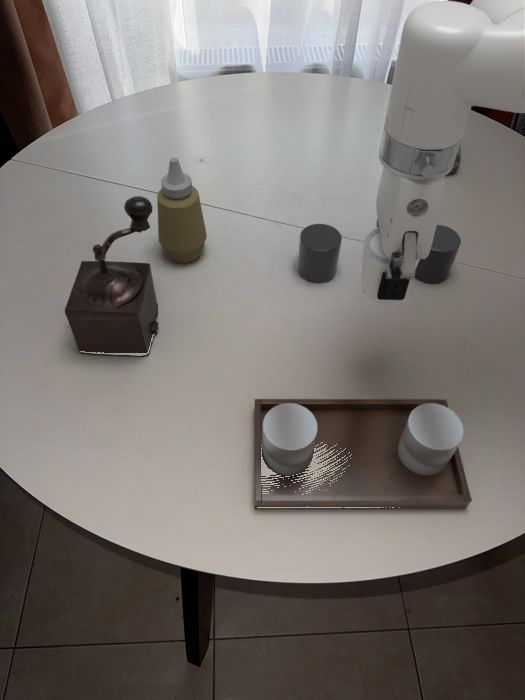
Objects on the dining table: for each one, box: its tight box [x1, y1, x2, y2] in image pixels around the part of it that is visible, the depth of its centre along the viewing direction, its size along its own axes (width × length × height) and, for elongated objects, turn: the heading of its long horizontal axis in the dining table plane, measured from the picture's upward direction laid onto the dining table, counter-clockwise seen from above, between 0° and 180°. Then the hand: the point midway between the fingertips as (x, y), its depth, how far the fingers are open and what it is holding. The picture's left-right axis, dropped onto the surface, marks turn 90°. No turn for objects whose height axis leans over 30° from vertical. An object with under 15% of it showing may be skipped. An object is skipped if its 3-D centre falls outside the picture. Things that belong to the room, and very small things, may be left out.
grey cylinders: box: [296, 223, 462, 285], centre depth 95 cm, size 26×7×7 cm, turn 91°
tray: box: [254, 398, 472, 509], centre depth 73 cm, size 26×15×7 cm, turn 91°
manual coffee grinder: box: [64, 195, 159, 353], centre depth 83 cm, size 16×11×18 cm
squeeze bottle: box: [156, 156, 208, 264], centre depth 92 cm, size 8×8×18 cm
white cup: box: [360, 228, 420, 304], centre depth 70 cm, size 7×7×7 cm
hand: (386, 275), depth 71 cm, fingers closed on white cup, 6 cm apart
